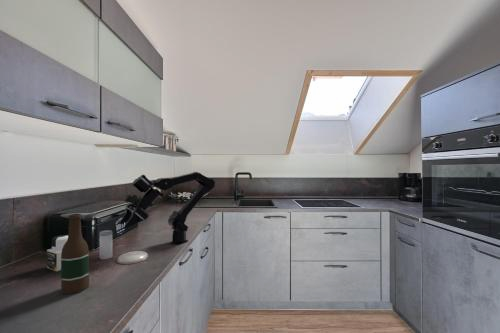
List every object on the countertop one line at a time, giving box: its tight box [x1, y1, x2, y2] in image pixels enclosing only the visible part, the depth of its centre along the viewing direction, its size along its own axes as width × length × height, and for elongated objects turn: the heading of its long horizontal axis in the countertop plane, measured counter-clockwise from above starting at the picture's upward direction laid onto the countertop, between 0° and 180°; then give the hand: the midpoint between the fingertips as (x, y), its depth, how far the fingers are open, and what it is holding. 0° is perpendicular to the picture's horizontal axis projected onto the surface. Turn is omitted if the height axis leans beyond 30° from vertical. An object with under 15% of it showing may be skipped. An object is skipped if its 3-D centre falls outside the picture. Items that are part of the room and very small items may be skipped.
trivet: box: [116, 250, 149, 265], centre depth 106 cm, size 12×12×1 cm
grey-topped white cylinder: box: [99, 229, 113, 260], centre depth 108 cm, size 5×5×11 cm
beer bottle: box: [60, 213, 90, 296], centre depth 80 cm, size 8×8×24 cm
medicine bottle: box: [46, 234, 68, 272], centre depth 98 cm, size 7×7×12 cm
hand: (122, 225), depth 112 cm, fingers open, 9 cm apart
